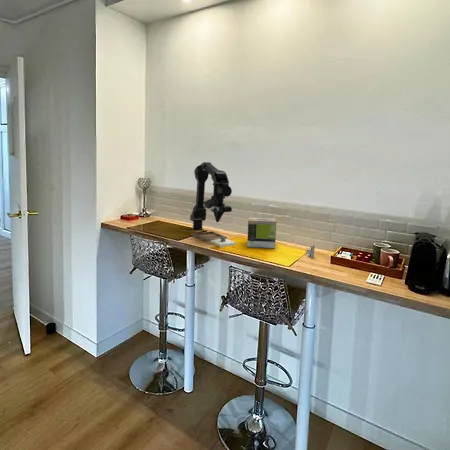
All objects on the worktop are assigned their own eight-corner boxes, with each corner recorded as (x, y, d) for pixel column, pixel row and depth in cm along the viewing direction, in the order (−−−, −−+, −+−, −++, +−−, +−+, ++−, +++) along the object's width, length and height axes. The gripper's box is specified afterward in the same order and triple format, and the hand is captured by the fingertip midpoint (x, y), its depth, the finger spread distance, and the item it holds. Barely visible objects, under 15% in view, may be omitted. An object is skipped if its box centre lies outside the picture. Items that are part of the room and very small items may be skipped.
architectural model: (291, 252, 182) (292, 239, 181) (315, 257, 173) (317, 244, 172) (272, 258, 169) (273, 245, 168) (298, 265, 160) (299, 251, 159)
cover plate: (210, 243, 192) (210, 235, 191) (225, 241, 197) (225, 233, 196) (220, 248, 184) (220, 239, 183) (235, 246, 189) (235, 237, 188)
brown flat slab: (190, 236, 204) (190, 233, 204) (211, 233, 213) (211, 231, 213) (204, 242, 192) (204, 239, 191) (226, 239, 200) (226, 236, 200)
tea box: (274, 244, 195) (276, 218, 192) (274, 249, 185) (276, 221, 182) (247, 242, 196) (248, 216, 193) (246, 247, 186) (248, 220, 183)
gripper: (197, 192, 194) (196, 220, 197) (215, 197, 179) (214, 226, 182) (214, 192, 200) (213, 218, 203) (233, 196, 185) (231, 224, 188)
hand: (217, 222), depth 194 cm, fingers closed
